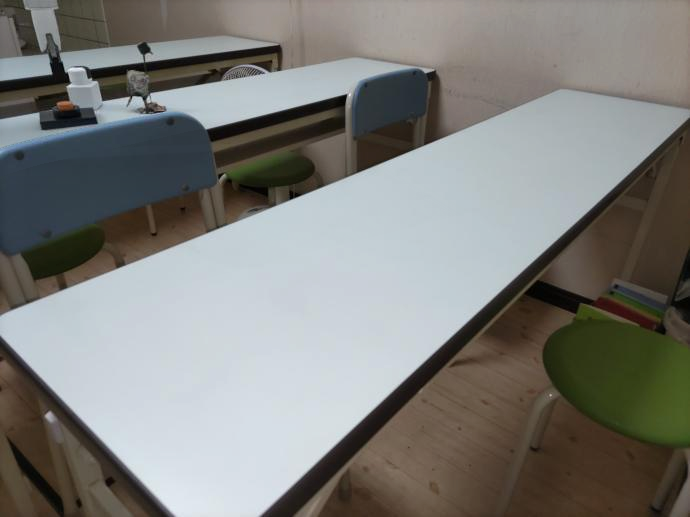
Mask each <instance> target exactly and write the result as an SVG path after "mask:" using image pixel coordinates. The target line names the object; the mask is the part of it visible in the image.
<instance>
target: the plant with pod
mask: <svg viewBox="0 0 690 517" xmlns="http://www.w3.org/2000/svg"><path fill="white" fill-rule="evenodd" d="M136 48H137V50H138V52H139V53H140V54H141V55H142V59H143V60H142V61H143V67H144V71H145V72H144V71H139V70H134V69H131V70H127V72H126V86H125V87H126V93H127V94H128V96H129V98H128V100H127V103H126V105H125V106H126V108H128V107H129V106H130V104H131V102H132V100H133V97H137V98H141V100H142V101H143V104H144V107H139V108H137V111H138V110H140V109H142V110H140V112H139V115H147V114H153V113H154V112H155V113H156V112H165V111H166V109H167V106H166V105H160V104H158V102H157V101H152V95H151V90H150V83H151V81H150V76H149V74H148V71H147V65H146V55H147V54H150V55H154V53H153V52H152V48H151V47H150V45H149V44H148V42H147V41H146V40H142V41H141V42H139V43H137V45H136ZM148 98H149V100H150V102H148ZM143 108H144V109H143ZM145 113H147V114H145Z"/></svg>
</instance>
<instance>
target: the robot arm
mask: <svg viewBox="0 0 690 517" xmlns="http://www.w3.org/2000/svg"><path fill="white" fill-rule="evenodd" d="M22 2H23V5H24V9H25V10H27V11H30V14H31V20H32V23H33V28H34V30H35V36H36V38H37V42H38V46H39V50H40V52H42V53H44V52H45V51H46V53H47V56H48V59H49V62H48V63H49V67H50V70H51V74H52V78H53V79H66V78H67V74H66V70H65V66H64V62H63V60H62V58H61V53H60V52H61V51H62V44H61V37H60V31H59V27H58V26H59V25H58V22H57V17H56V13H55V10H59V5H58V1H57V0H22Z"/></svg>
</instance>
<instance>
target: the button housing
mask: <svg viewBox="0 0 690 517" xmlns="http://www.w3.org/2000/svg"><path fill="white" fill-rule="evenodd" d="M73 106H74V108H73V109H69V110H58V107H57V105H55V106H52V108H51V109H52V110H42V111H38V117H39V125H40V128H41V129H40V130H42V131H45V130H56V129H65V128H74V127H83V126H93V125H98V123H99V122H98V119H97V118H98V117H97V115H96V112H95V110H93V107H89V108H80V107H79V106H78V105H73Z"/></svg>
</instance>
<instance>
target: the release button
mask: <svg viewBox="0 0 690 517" xmlns="http://www.w3.org/2000/svg"><path fill="white" fill-rule="evenodd" d="M56 106H57V107H58V110H69V109H73V108H74V106H73V102H70V100H63V101H58V102H56Z"/></svg>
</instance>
